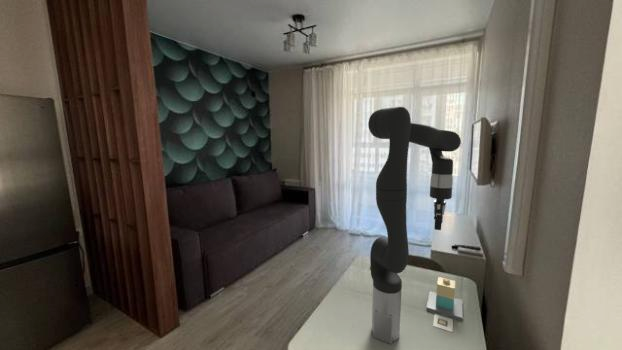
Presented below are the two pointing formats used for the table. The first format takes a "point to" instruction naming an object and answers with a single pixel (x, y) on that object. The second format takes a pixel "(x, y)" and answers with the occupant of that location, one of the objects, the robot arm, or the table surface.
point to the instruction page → (443, 322)
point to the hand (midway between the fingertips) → (438, 226)
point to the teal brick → (444, 302)
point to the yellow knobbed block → (446, 288)
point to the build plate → (454, 313)
